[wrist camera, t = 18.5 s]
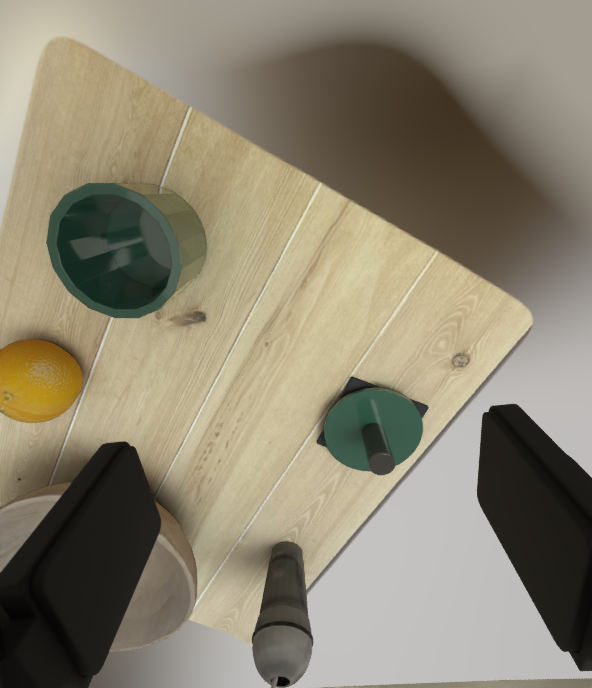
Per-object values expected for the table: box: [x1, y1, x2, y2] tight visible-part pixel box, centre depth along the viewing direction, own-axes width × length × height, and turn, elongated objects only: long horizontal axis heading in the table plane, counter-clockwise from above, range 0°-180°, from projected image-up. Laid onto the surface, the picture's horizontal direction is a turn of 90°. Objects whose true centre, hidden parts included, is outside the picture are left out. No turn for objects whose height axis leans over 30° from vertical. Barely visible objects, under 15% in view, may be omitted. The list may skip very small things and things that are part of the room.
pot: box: [46, 183, 207, 318], centre depth 34 cm, size 11×11×8 cm
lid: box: [324, 388, 423, 475], centre depth 42 cm, size 12×12×7 cm
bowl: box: [0, 482, 197, 652], centre depth 48 cm, size 26×26×10 cm
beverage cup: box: [252, 542, 313, 688], centre depth 45 cm, size 7×7×20 cm
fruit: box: [0, 339, 83, 423], centre depth 39 cm, size 9×8×8 cm
